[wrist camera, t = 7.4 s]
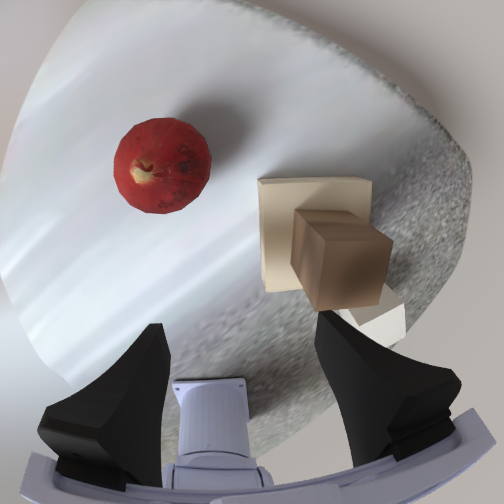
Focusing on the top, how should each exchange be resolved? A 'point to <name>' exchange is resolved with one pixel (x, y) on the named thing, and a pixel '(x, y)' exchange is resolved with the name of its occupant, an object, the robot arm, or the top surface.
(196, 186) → the onion
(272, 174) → the top surface
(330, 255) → the walnut block
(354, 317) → the offwhite block
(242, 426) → the robot arm
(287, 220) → the beech slab
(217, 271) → the top surface
